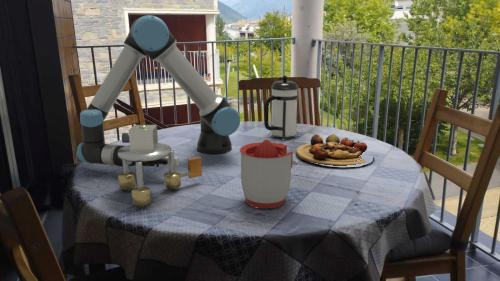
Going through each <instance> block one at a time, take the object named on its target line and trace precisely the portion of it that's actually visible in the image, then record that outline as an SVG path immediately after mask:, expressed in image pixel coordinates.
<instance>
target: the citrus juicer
mask: <svg viewBox="0 0 500 281" xmlns="http://www.w3.org/2000/svg"><path fill="white" fill-rule="evenodd" d="M239 152H240V182H241V186H242V187H241V188H242V191H243V196H244V198H245V201H246V203H247V204H248V205H249V204H250V205H249V206H251V205H252V206H251V207H253V206H254V207H253V208H255V207H258V208H257V209H262V208H271V209H276V208H279V207H282V206H283V205H284V204H285V202H286V200H287V198H288V193H289V190H290V187H291V180H292V179H291V178H292V168H293V166H298V162H297V161H295V160H294V158H293V152H294V150H292V151H291V150H290V151H288V146H287V145H286V144H283V143H280V142H279V143H278V142H271V141H270V140H269V139H264V140H263V141H261V142H252V143H247V144H244V145H242V146H241V147H240V149H239ZM283 203H284V204H283ZM282 204H283V205H282ZM275 207H276V208H275Z"/></svg>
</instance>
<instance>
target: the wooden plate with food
mask: <svg viewBox="0 0 500 281" xmlns="http://www.w3.org/2000/svg"><path fill="white" fill-rule="evenodd" d="M323 142H324V139H323V137H322V136H321V135H319V133H316V134H313V135H312V137H311V138H310V142H309V143H305V144H302V145H299V146H298V147H297V148H296V151H295V154H296V157H297V158H298V159H300V158H301V159H303V160H305V161H308V162H313V163H318V164H324V165H333V166H347V165H356V164H361V163H364V162H366V161H365V160H364V159H363V160H360V159H362V157H361V156H360V155H362V153H363V152H365V151H366V150H368V145H367V143H365V142H360V141H359V140H357V142H356V141H355V140H351V139H349V137H344V138H343V137H342V139H341V140H340V138H339V136H337V135H336V134H335V133H332V134H330V135H328V136H326V138H325V142H326V143H323ZM339 143H340V144H339ZM353 147H354V148H353ZM359 156H360V157H359ZM301 159H300V160H301ZM303 160H302V161H303ZM357 160H360V161H357ZM305 161H304V162H305ZM354 161H355V162H354ZM308 162H307V163H308Z"/></svg>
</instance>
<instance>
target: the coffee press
mask: <svg viewBox="0 0 500 281" xmlns="http://www.w3.org/2000/svg"><path fill="white" fill-rule="evenodd" d="M270 88H271V94H270V95H271V96H269V97H267V99H266V100H265V103H264V112H263V114H264V115H263V116H264V117H263V118H264V119H263V121H264V122H263V123H264V128H265V129H266V130H267V131H270V132H269V133H268V134H267V136H270V134H271V135H272V136H271V137H273V136H275V137H280V138H281V140H282V139H285V140H286V138H289V137H293V135H295V136H298V135H299V134H298V132H297V120H298V119H297V118H298V115H297V114H298V95H299V94H298V90H299V86H298V84H297V82H294V81H292V80H288V76H287V75H283V76H282V80H277V81H274V82H273V83H272V85H271V87H270ZM270 105H271V111H270V110H269V109H270V108H269V107H270ZM269 111H270V114H269ZM269 115H270V124H269Z"/></svg>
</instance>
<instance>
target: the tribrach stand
mask: <svg viewBox="0 0 500 281" xmlns="http://www.w3.org/2000/svg"><path fill="white" fill-rule="evenodd" d="M158 138H159V137H158V125H157V124H134V125H133V126H132V127H131V128H130V129H129V130H128V132H122V134H121V142H122V143H125V144H128V145H123V146H124V147H122V148H120V149H119V150H118V157H119V158H120V159H122V161H123V167H122V170H123V172H120V173H119V174H117V178H118V187H119V189H122V190H125V192H130V191H131V199H132V205H133V206H138V208H139V209H143V208H145V207H146V206H147V205H149V204H150V203H151V202H152V200H151V188H150V187H149V186H145V183H144V173H143V172H144V170H143V166H142V162H144V161H153V160H158V159H162V158H165V157H168V156H169V155H170V154H171V150H172V147H171V146H170V145H169V144H167V143H162V142H159V139H158ZM128 161H133V162H136V166H135V171H136V172H132V171H130V166H129V162H128Z"/></svg>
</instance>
